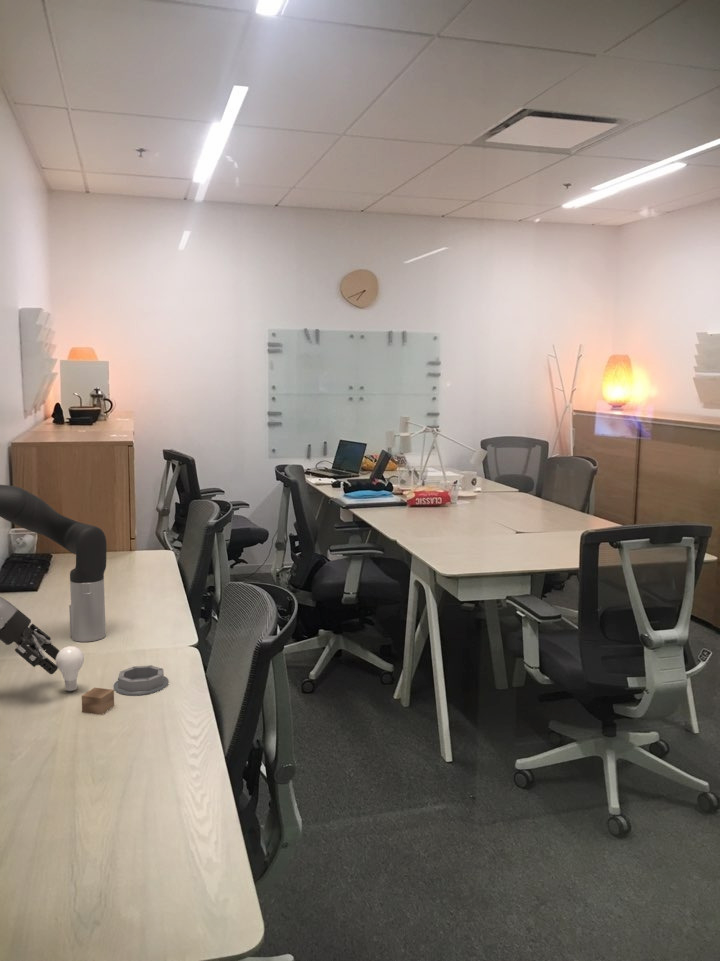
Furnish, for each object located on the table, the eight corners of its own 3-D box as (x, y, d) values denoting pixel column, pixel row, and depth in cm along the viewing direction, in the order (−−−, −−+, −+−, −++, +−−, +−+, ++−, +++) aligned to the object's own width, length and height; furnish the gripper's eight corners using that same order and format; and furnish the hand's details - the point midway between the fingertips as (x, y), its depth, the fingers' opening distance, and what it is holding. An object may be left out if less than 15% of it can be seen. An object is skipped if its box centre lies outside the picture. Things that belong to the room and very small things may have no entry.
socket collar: (102, 687, 187) (101, 675, 187) (144, 671, 198) (143, 660, 198) (138, 700, 180) (138, 687, 180) (179, 682, 191) (179, 670, 190)
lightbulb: (90, 687, 187) (89, 644, 186) (72, 697, 181) (71, 652, 180) (69, 684, 189) (67, 641, 188) (50, 694, 183) (49, 649, 182)
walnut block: (82, 712, 173) (81, 695, 173) (95, 704, 178) (94, 687, 177) (101, 715, 172) (101, 698, 171) (114, 706, 177) (113, 689, 176)
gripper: (-2, 621, 186) (50, 664, 190) (-15, 642, 172) (41, 687, 177) (21, 599, 186) (72, 642, 191) (10, 618, 173) (65, 664, 177)
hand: (57, 664), depth 184 cm, fingers open, 8 cm apart
